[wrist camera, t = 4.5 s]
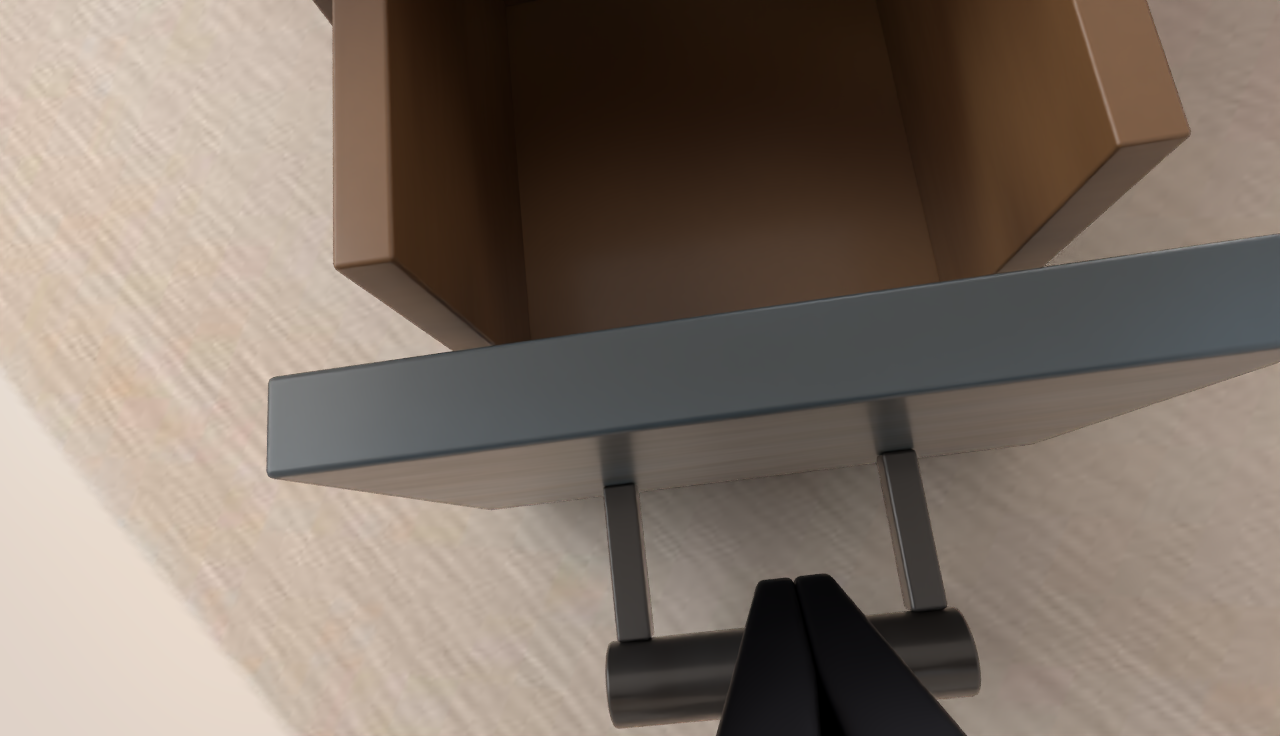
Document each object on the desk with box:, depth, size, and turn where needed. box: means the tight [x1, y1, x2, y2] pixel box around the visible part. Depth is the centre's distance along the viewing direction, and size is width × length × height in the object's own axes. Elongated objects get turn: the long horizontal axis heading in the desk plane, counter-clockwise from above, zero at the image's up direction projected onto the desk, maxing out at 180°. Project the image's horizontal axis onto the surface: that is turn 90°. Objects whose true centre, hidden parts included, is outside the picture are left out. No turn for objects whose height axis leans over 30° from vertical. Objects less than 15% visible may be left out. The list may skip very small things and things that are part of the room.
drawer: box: [267, 0, 1280, 729], centre depth 12 cm, size 17×11×8 cm
